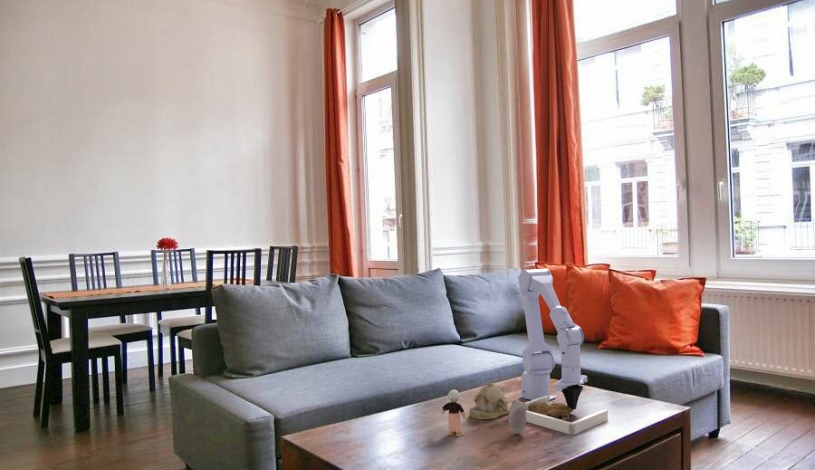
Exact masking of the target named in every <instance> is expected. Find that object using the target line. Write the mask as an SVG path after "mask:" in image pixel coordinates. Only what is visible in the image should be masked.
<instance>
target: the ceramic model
mask: <svg viewBox="0 0 815 470" xmlns="http://www.w3.org/2000/svg"><path fill="white" fill-rule="evenodd" d="M473 403H474V404H475V405H474V406H472V407H471V408H469V412H468V413H469V416H470V418H474V419H477V420H478V419H479V420H491V419H497V418H498V417H500V416H504V415H507V414H508V415H509V412H510V408H508V404H509V401H508V399H506V398H505V394H504V393H503V391H502V389H500V388H499V387H497V385H496V384H495V383H494V382H491V381H487V382H486V385H484V386H483V387H482V388H481V389H480V390H479V392H478V393H477V394H476V395H475V397H474V399H473Z"/></svg>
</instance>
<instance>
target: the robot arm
mask: <svg viewBox="0 0 815 470" xmlns="http://www.w3.org/2000/svg"><path fill="white" fill-rule="evenodd" d="M552 275H553V274H552V273H551V271H550V269H548V268H538V269H522V270H521V271H520V274H519V275H518V286H519V293H520V295H522V301H523V302H522V303H523V310H524V318H525V325H526V332H527V338H528V344H527V346H526V347H524V349H523V350H522V361H521V362H522V367H523V369H524V371H523V372H522V374H521V377H520V393H521V394H520V395H519V397H520V398H522V399H526V400H529V401H531V400H534V399H537V398H540V397H543V396H549V401H551V400H553V399H556V398H557V397H556V396H555V395H551V373H552V370H554V368H555V366H556V358H555V356H554V354H553V351H552V347H551V346H550V345H548V344H547V343H546V342H545V337H544V329H543V323H542V315H541V308H540V299H539V297H540V295H541V297H542V299H543V300H544V302H545V303H546V305H547V307H548V308H549V311H550V313H549V317H550V320H551V321H552V323H553V326H554V328H555V330H556V332H557V335H556V339H557V343H558V346H559V347H558V349H559V351H560V353H561V356H560V357H561V361H560V362H561V379H560V380H558V382H555V383H554V390H555V391H558V392H559V391H560V392H561V393H562V394H563V397H564V399H565V403H566V406H568V407H569V408H571V409H573V411H574V410H576V409H577V405H578V401H579V397H580V395H581V393H582V391H583V390H584V389H583V388H584V387H583V385H584V384H585V383H587V382H588V376H587V375H585V374H584V375H583V374H581V373H582V372H581V345H582V344H583V343H584V340H585V334H584V332H583V329H582V328H581V327H580V326H579V325H578V324H576V323H574V321H573V319H572V318H571V316H570V314H569V313H570V312H569V311H568V310H567V307H565V306H561V303H560V301H559V299H558V296H557V294H556V291H555V289H554V286H553V283H554V277H553V276H552Z"/></svg>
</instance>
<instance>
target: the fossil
mask: <svg viewBox="0 0 815 470" xmlns="http://www.w3.org/2000/svg"><path fill="white" fill-rule="evenodd" d="M510 407H511V409H510V408H509V410H510V412H509V413H508V418H507V420H508V424H509V427H510V430H511V431H512V433H513V434H515V435H521V434H522V433H523V432H524V431H525V429H526V427H527V426H526V425H527V422H526V404H525V401H524V402H523V401H520V400H517V399H513V400H512V402H511V406H510Z"/></svg>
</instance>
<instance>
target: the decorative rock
mask: <svg viewBox="0 0 815 470" xmlns="http://www.w3.org/2000/svg"><path fill="white" fill-rule="evenodd" d="M529 410H530V411H532V412H534V413H538V414H542V415H545V416H549V417H553V418H556V419H560V420H564V421H567V422H569V419H570V415H571V414H572V413H573V412H574V410H573V409H571V408H569V407H568V406H567V404H564V403H563V402H562V403H561V402H554V401H553V402H551V401H549V402H545V403H537V404H531V405H530V406H529Z"/></svg>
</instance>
